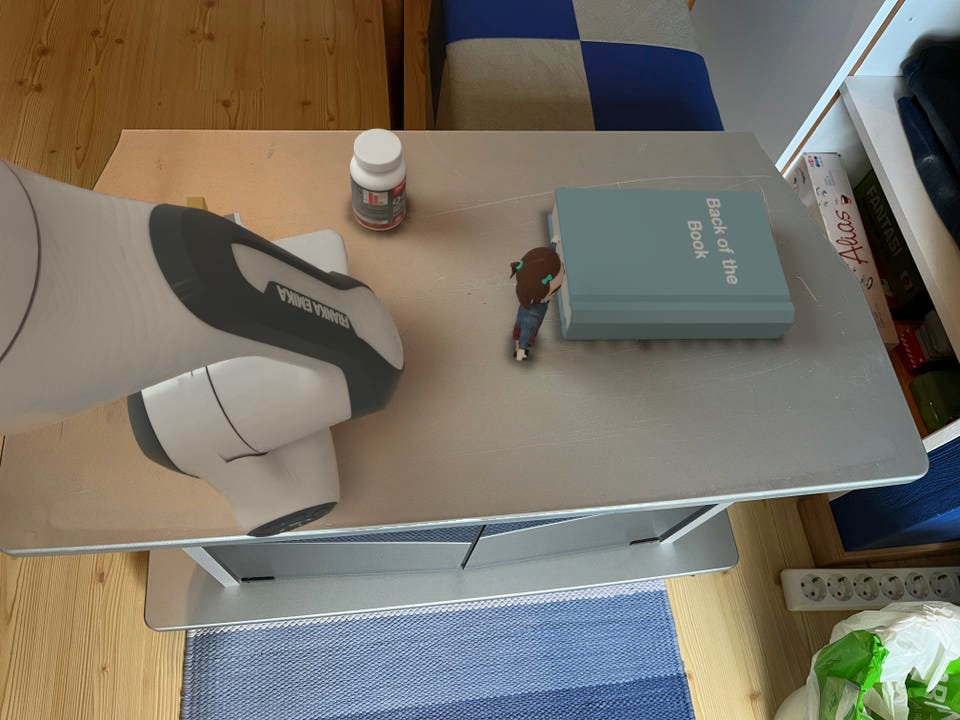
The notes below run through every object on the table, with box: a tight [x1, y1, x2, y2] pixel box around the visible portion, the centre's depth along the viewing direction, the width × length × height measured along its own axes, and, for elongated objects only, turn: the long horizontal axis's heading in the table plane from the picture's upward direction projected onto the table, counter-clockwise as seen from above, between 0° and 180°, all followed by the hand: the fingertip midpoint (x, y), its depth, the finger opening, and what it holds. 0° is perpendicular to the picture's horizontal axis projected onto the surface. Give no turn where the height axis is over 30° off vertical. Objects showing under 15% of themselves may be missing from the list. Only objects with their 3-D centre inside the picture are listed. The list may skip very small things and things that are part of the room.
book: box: [546, 187, 795, 341], centre depth 78 cm, size 23×16×5 cm
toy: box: [509, 235, 565, 362], centre depth 68 cm, size 14×5×15 cm, turn 164°
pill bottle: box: [349, 128, 407, 232], centre depth 77 cm, size 6×6×10 cm
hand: (219, 220), depth 68 cm, fingers closed
